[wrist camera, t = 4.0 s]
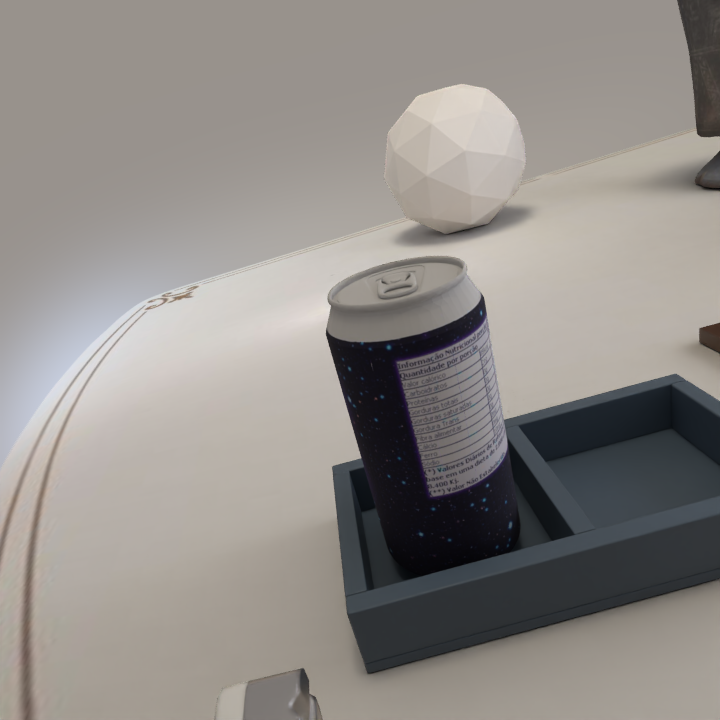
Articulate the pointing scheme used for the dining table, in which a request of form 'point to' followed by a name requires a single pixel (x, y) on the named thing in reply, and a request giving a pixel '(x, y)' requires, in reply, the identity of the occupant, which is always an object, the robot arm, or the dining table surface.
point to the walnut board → (710, 336)
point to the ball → (454, 158)
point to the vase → (705, 74)
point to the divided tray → (553, 526)
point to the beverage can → (426, 410)
